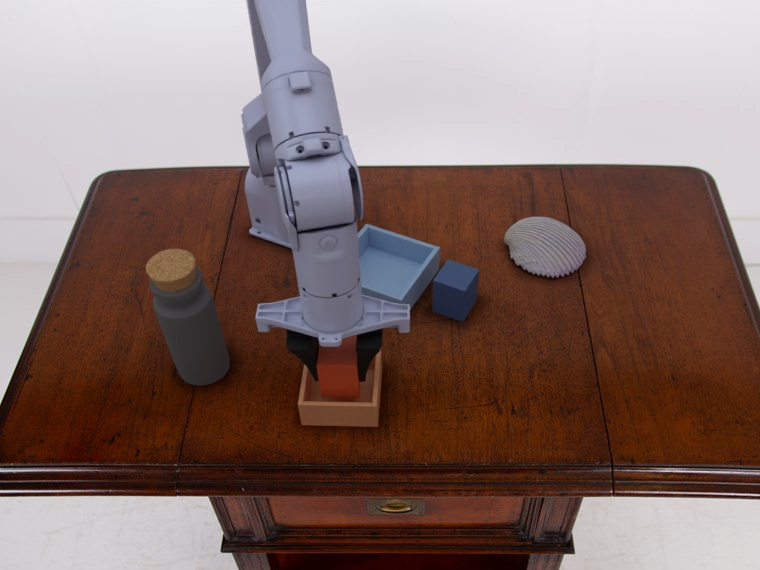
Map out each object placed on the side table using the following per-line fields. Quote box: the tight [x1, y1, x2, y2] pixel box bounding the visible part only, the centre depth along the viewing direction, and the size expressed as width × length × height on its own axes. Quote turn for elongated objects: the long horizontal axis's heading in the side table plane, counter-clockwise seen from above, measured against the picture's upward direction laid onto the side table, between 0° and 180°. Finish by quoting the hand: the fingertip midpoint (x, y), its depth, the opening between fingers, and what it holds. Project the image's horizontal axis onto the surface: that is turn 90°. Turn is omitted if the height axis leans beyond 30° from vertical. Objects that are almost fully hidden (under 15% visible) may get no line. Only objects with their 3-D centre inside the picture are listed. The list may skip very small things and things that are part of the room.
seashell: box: [503, 216, 587, 279], centre depth 94 cm, size 10×6×10 cm
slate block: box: [431, 258, 480, 323], centre depth 88 cm, size 4×4×5 cm
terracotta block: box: [317, 336, 361, 397], centre depth 78 cm, size 4×4×5 cm
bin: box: [357, 223, 441, 311], centre depth 91 cm, size 10×10×4 cm
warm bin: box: [297, 348, 383, 428], centre depth 80 cm, size 8×8×4 cm
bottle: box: [145, 248, 231, 387], centre depth 79 cm, size 6×6×15 cm
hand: (340, 374), depth 79 cm, fingers closed on terracotta block, 4 cm apart
